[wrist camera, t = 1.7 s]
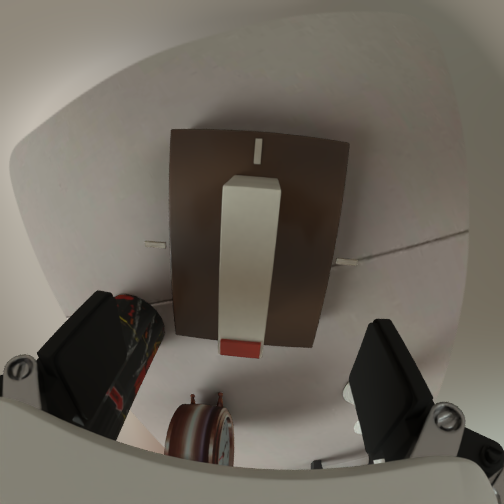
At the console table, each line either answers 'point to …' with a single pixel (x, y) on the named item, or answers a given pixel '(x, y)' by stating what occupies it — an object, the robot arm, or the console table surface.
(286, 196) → the panel
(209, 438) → the alarm clock
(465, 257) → the console table surface
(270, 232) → the dial
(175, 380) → the console table surface
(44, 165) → the console table surface
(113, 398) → the deodorant
